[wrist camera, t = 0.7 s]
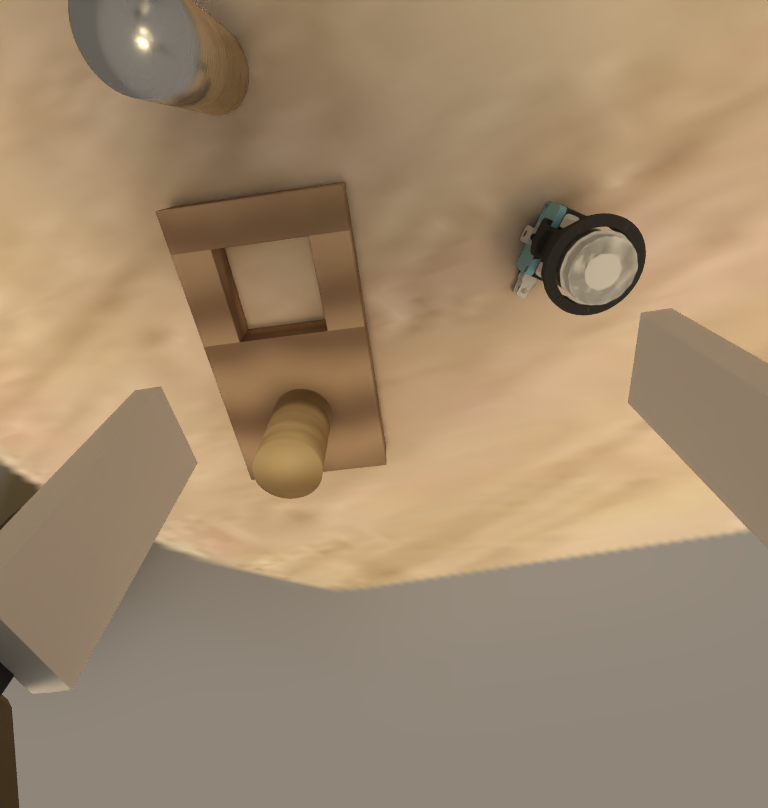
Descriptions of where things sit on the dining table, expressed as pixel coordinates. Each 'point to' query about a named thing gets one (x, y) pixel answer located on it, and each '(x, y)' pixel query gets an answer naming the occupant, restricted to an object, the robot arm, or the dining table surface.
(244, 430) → the jig
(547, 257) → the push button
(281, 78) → the dining table surface
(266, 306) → the dining table surface
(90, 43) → the tan grey cylinder
